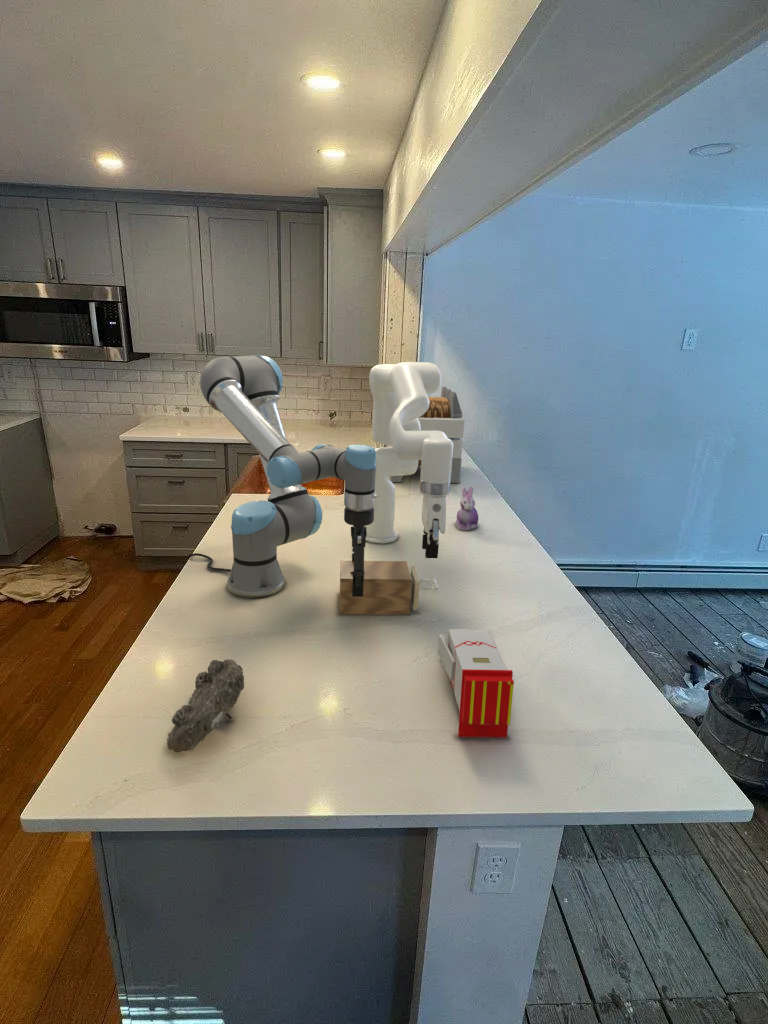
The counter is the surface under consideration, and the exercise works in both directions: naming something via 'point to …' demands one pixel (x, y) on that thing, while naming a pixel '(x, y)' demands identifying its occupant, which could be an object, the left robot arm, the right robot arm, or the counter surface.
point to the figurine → (467, 511)
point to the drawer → (416, 588)
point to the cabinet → (377, 588)
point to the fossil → (206, 705)
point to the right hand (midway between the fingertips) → (429, 552)
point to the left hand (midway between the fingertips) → (357, 585)
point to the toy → (478, 682)
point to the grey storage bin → (444, 427)
